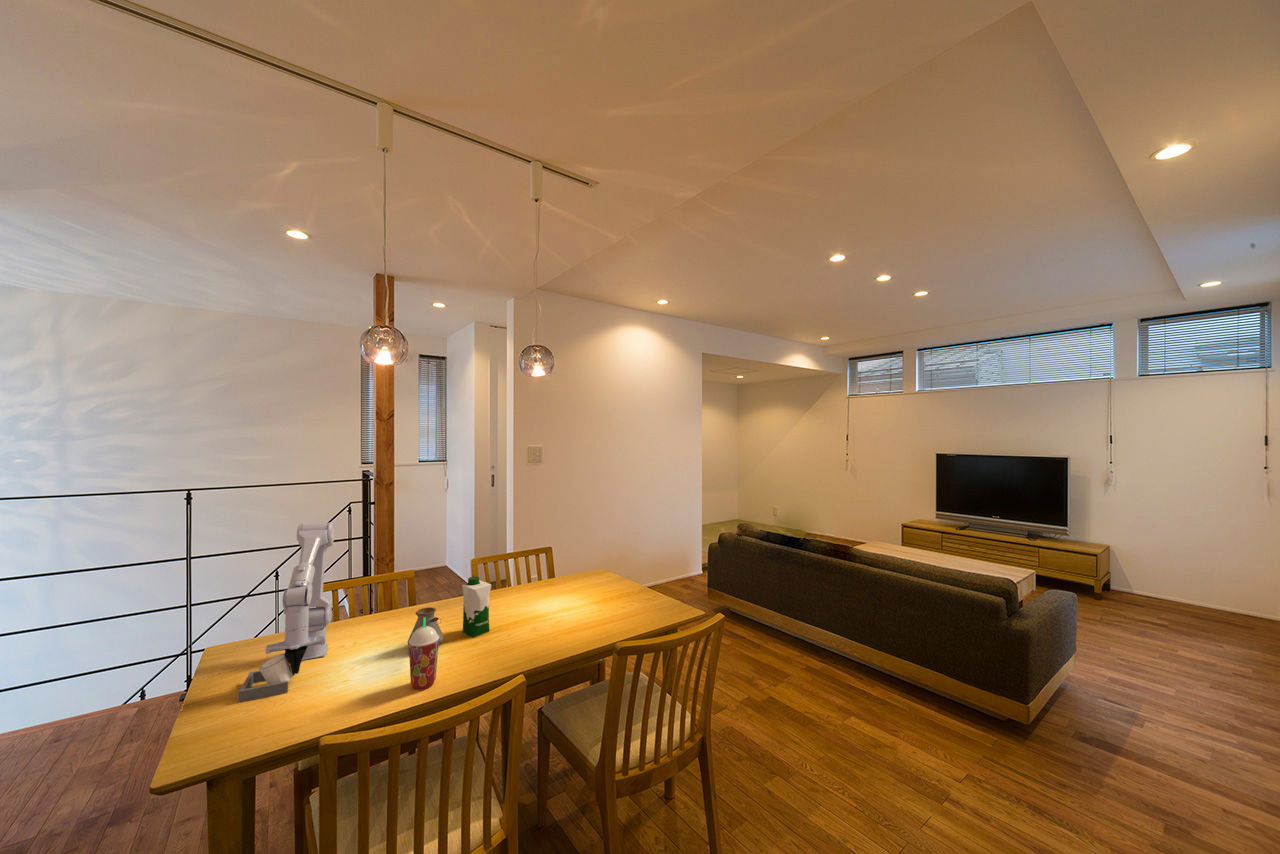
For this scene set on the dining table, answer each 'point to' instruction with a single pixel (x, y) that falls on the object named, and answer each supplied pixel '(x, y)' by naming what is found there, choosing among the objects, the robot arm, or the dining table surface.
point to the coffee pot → (427, 621)
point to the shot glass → (276, 670)
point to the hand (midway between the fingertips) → (295, 672)
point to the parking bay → (260, 688)
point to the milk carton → (476, 607)
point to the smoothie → (423, 656)
